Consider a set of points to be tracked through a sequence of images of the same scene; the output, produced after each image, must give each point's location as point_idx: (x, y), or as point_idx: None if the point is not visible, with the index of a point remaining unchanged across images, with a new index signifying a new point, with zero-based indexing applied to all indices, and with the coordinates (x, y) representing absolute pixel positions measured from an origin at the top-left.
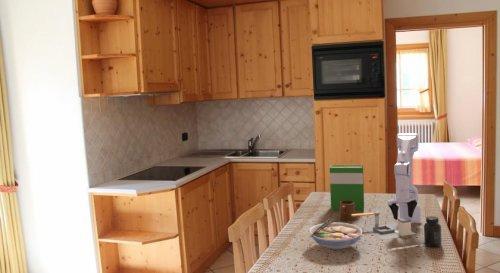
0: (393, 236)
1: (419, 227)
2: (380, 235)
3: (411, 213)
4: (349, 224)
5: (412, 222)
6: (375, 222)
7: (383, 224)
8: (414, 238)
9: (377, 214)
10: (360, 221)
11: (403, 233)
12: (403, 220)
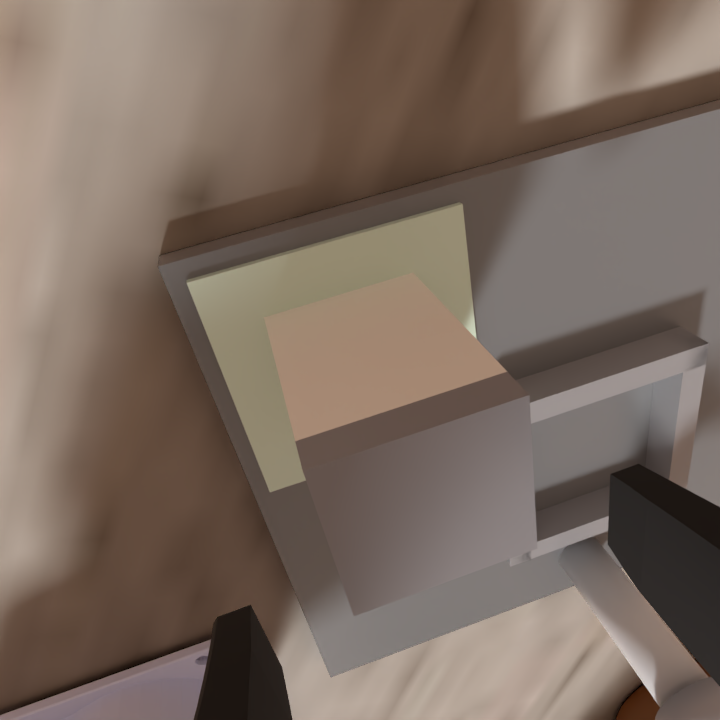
0: (591, 204)
1: (33, 596)
2: (718, 274)
3: (251, 716)
4: None
5: (107, 704)
6: (637, 591)
7: (475, 622)
8: (255, 129)
9: (715, 692)
10: (596, 685)
11: (414, 278)
12: (490, 452)
